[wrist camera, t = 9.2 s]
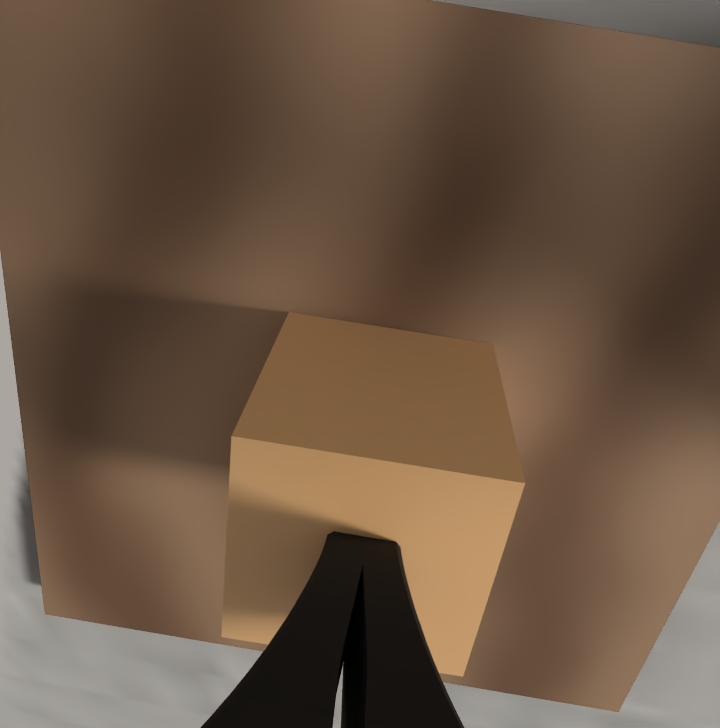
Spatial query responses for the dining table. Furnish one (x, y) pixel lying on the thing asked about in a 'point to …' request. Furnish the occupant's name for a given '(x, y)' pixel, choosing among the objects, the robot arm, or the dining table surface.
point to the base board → (365, 288)
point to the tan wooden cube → (372, 474)
